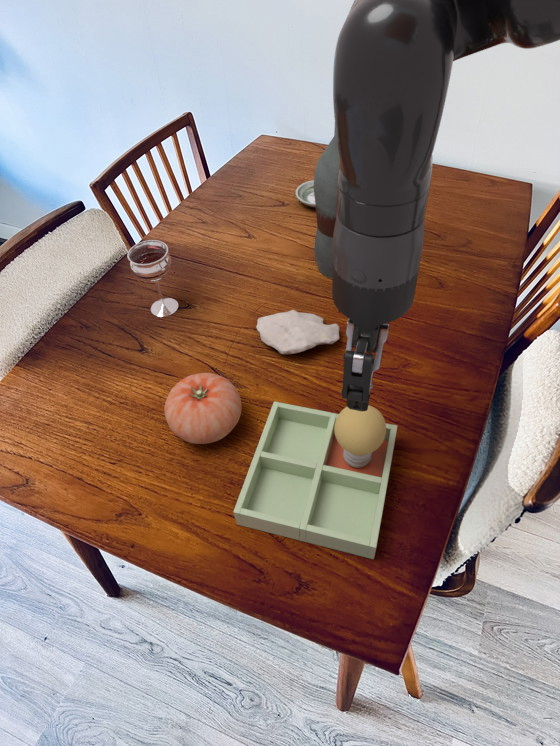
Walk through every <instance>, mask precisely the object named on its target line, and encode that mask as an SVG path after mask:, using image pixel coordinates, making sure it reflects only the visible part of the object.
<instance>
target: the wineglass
mask: <svg viewBox="0 0 560 746" xmlns="http://www.w3.org/2000/svg"><path fill="white" fill-rule="evenodd" d="M127 260H128V261H129V266H130V269H131V272H132V273H133V275H135V277H136V278H138V279H140V280H141V281H144V282H148V283H154V285H155V287H156V290H157V292H158V295H159V298H160V299H158V300H156V301H154V302H153V303H152V304H151V307H150V312H151V313H152V315H154V316H156V317H160V318H162V317H169V316H171V315H172V314H174V313H176V311H177V310H178V308H179V302H178V301H177V300H176V299H174V298H171V297H164V295H163V291H162V287H161V283H160V281H161V280H163V279H164V278H165V277H166V276H167V275H168V274H169V273H170V271H171V269H172V256H171V255H170V253H169V247H168V245H167V244H166V243H165V242H163V241H161V240H158V239H157V240H156V239H149V240H147V239H146V240H144V241H140V242H137V243H135V244H134V245H133V246H132V247H131V248H129V250H128V251H127Z"/></svg>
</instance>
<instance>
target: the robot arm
mask: <svg viewBox="0 0 560 746" xmlns="http://www.w3.org/2000/svg"><path fill="white" fill-rule="evenodd" d="M558 41H560V0H354V1H353V3H352V5H351V7H350V10H349V12H348V14H347V16H346V18H345V20H344V21H343V25H342V27H341V29H340V31H339V34H338V36H337V40H336V45H335V50H334V56H333V68H332V69H333V70H332V100H333V101H332V102H333V103H332V105H333V116H334V128H335V127H336V136H337V145H338V151H339V157H340V158H339V167H338V182H337V215H336V222H335V228H334V234H333V275H332V278H331V280H332V281H331V283H332V284H331V285H332V286H331V291H332V292H331V293H332V294H331V296H332V298H331V299H332V301H333V304H334V306H335V308H336V309H337V311H339V312H340V313H341V314H342V315H343V316H344V317H346V318H347V324H346V330H345V335H346V337H347V341H346V346H345V347H346V348H345V353H344V354H343V357H342V358H343V374H342V389H341V392H340V393H341V399H345V400H346V407H348V408H349V409H352V410H357V411H362V412H363V411H367V410H368V405H370V399H371V390H373V388H374V384H373V379H374V375H375V374H374V373H375V372H376V371H378V370H379V369H380V367H381V362H382V356H383V351H384V346H385V343H386V342H387V340H388V337H389V332H390V323H391V322H394V321H396V320H398V319H400V318H403V316H404V315H405V314H407V313H408V312H409V311H410V309H411V308H412V306H413V304H414V301H415V294H416V288H417V283H418V277H419V272H420V267H421V261H422V255H423V250H424V241H425V219H426V213H427V207H428V202H429V201H428V200H429V197H430V189H431V182H432V176H433V175H432V174H433V160H434V159H433V158H434V157H433V152H434V149H435V145H436V142H437V138H438V134H439V131H440V126H441V121H442V118H443V113H444V109H445V104H446V100H447V95H448V90H449V85H450V80H451V76H452V69H453V65H454V64H453V63H454V62H456V61H458V60H460V59H462V58H466V57H469V56H471V55H474V54H476V53H479V52H480V53H481V52H482V51H485V50H488V49H491V48H494V47H496V46H500V45H504V44H511V45H513V46H514V47H517V48H520V49H522V50H523V49H524V50H531V49H535V48H536V49H537V48H540V47H544V46H547V45H550V44H553V43H557V42H558ZM354 348H355V350H354ZM374 354H375V357H374Z"/></svg>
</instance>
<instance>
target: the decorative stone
mask: <svg viewBox="0 0 560 746" xmlns="http://www.w3.org/2000/svg"><path fill="white" fill-rule="evenodd" d="M255 329H256V330H257V332H258V333H259V336H260V341H261V342H263V343H264V345H267V346H269V347H271V348H274V349H275V350H277V352H278V353H280V355H293V354H294V355H295V354H299V353H301V352H305V351H307V350H311V349H314V348H315V347H316V346H322V345H333V344H334V343H336V342H337V341H338V340H340V326H339V325H338V324H337V323H332V324H326V323H324V318H323V317H321V316H319V315H316V314H315V313H310V312H299V311H297V310H295V309H291V310H289V311H284V312H276V313H274V314H269V315H264V316H262V317H261V316H260V317H258V318H257V323H256V326H255Z"/></svg>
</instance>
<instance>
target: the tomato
mask: <svg viewBox="0 0 560 746" xmlns="http://www.w3.org/2000/svg"><path fill="white" fill-rule="evenodd" d="M242 408H243V404H242V398H241V396H240V393H239V391H238V389H237V388H236V387H235V385H234V384H233V383H232V382H231V381H230V380H229V379H228V378H226V377H224V376H222V375H220V374H216V373H212V372H200V373H193V374H191V375H188V376H185V377H184V378H182V379H181V380H178V382H177V383H176V384H175V385H174V386H173V387H172V388H171V389H170V392H169V393H168V395H167V397H166V400H165V403H164V409H163V410H164V411H163V412H164V417H165V421H166V423H167V426H168V427H169V429H170V430H171V431H172V433H173V434H174V435H175V436H177V437H178V438H179V439H181V440H183V441H185V442H188V443H189V444H194V445H195V444H196V445H199V444H200V445H204V444H206V445H207V444H212V443H214V442H218V441H221V440H222V439H224V438H225V437H227V435H229V434H230V433H231V432H232V431H233V430H234V428H236V425H237V424H238V422H239V421H240V417H241V414H242Z"/></svg>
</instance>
